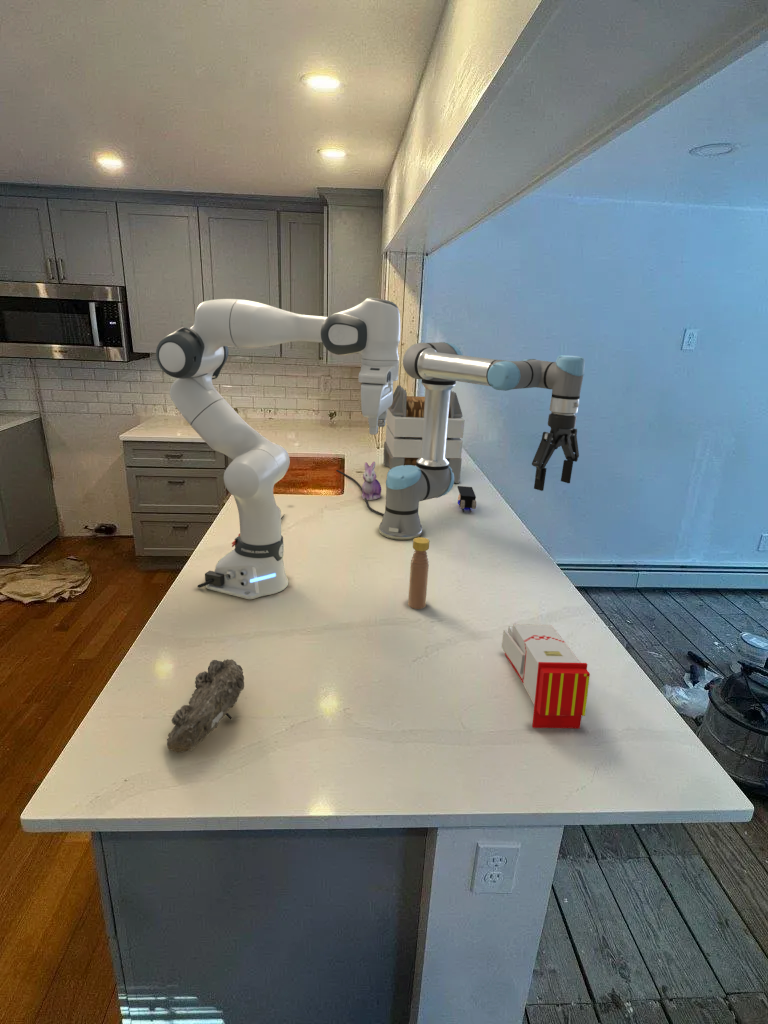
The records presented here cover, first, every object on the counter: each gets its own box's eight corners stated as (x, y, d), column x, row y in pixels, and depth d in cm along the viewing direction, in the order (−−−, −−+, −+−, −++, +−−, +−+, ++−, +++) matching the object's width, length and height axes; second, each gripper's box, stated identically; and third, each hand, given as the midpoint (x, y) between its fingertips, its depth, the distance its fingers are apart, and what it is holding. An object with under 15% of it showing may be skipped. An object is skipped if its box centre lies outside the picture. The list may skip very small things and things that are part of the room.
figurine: (366, 502, 230) (367, 466, 225) (355, 494, 239) (356, 460, 234) (386, 499, 235) (388, 464, 229) (375, 492, 243) (377, 458, 238)
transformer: (382, 463, 289) (386, 382, 275) (445, 464, 293) (451, 384, 279) (390, 482, 257) (394, 392, 243) (460, 483, 261) (468, 394, 247)
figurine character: (476, 517, 222) (470, 501, 236) (478, 500, 219) (472, 484, 232) (459, 517, 222) (454, 501, 236) (461, 499, 219) (456, 484, 232)
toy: (548, 608, 134) (599, 669, 104) (543, 661, 136) (591, 735, 107) (497, 607, 133) (533, 668, 104) (493, 660, 136) (527, 734, 107)
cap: (409, 547, 147) (409, 539, 147) (421, 543, 150) (421, 536, 149) (420, 552, 144) (420, 544, 144) (432, 549, 147) (432, 541, 146)
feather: (291, 508, 223) (294, 504, 222) (274, 533, 196) (277, 528, 195) (287, 506, 222) (290, 502, 222) (270, 530, 196) (272, 526, 195)
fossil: (192, 660, 117) (244, 628, 112) (224, 691, 120) (276, 661, 115) (142, 746, 98) (202, 712, 93) (182, 779, 101) (242, 748, 96)
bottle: (404, 603, 153) (408, 540, 147) (417, 598, 156) (421, 536, 150) (416, 610, 149) (420, 546, 143) (429, 605, 152) (434, 542, 146)
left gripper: (375, 367, 143) (373, 421, 148) (356, 375, 124) (355, 437, 129) (400, 368, 142) (397, 423, 147) (384, 377, 123) (382, 439, 128)
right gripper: (548, 419, 148) (537, 496, 155) (598, 411, 163) (586, 482, 171) (525, 414, 153) (515, 489, 160) (575, 407, 169) (564, 476, 176)
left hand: (377, 430), depth 138 cm, fingers open, 8 cm apart
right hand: (552, 485), depth 166 cm, fingers open, 13 cm apart
